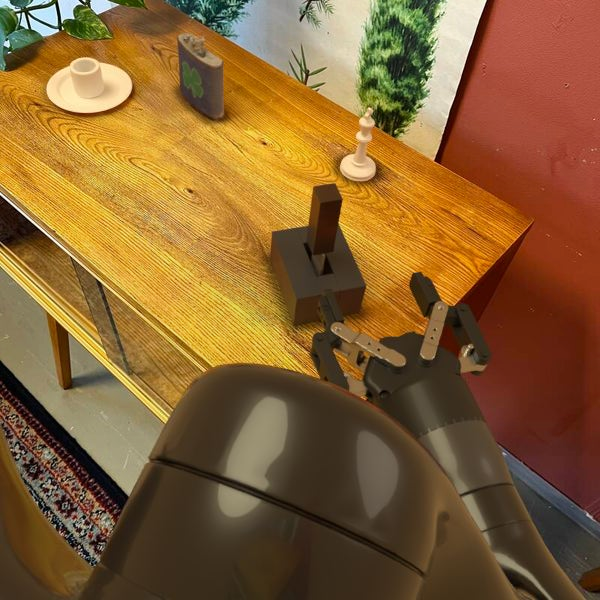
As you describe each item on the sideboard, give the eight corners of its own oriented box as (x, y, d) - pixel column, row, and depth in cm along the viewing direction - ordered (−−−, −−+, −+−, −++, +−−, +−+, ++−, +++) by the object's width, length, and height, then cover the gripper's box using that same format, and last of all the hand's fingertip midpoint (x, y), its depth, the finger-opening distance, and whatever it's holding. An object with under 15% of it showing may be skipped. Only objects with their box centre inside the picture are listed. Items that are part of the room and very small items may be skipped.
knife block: (293, 326, 75) (296, 299, 71) (269, 259, 80) (271, 231, 76) (359, 312, 76) (366, 285, 72) (332, 248, 82) (337, 220, 78)
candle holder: (79, 58, 101) (74, 31, 98) (148, 81, 99) (145, 55, 96) (30, 100, 95) (22, 73, 91) (102, 126, 92) (97, 100, 89)
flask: (227, 117, 96) (226, 50, 87) (211, 124, 94) (208, 57, 86) (190, 85, 100) (186, 17, 91) (174, 91, 98) (168, 24, 90)
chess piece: (381, 167, 92) (395, 106, 84) (364, 186, 89) (377, 126, 81) (351, 152, 93) (362, 91, 85) (333, 171, 91) (342, 110, 83)
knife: (307, 297, 77) (321, 204, 65) (300, 277, 79) (312, 184, 67) (327, 293, 78) (344, 201, 66) (319, 274, 79) (334, 180, 68)
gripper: (543, 404, 49) (452, 244, 58) (364, 450, 46) (297, 273, 55) (510, 447, 55) (432, 296, 64) (349, 491, 52) (291, 325, 61)
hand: (370, 285), depth 60 cm, fingers open, 8 cm apart
